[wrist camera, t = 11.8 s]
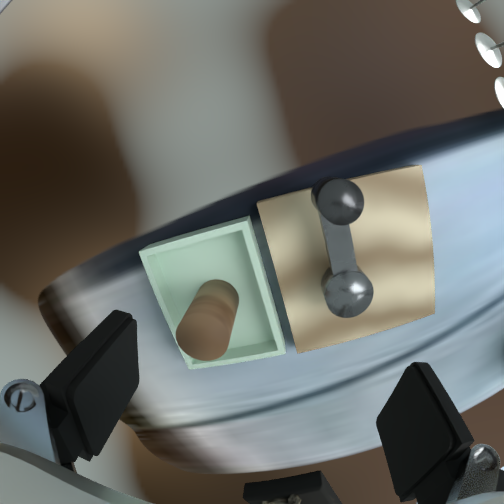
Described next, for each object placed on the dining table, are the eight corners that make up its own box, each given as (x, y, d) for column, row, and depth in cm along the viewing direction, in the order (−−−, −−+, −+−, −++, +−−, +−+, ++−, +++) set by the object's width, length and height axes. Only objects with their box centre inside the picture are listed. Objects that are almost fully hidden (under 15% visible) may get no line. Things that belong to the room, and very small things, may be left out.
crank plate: (428, 307, 27) (434, 313, 25) (296, 345, 29) (297, 353, 27) (413, 164, 23) (421, 165, 21) (257, 201, 25) (256, 203, 23)
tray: (285, 339, 29) (285, 353, 26) (194, 355, 30) (189, 369, 28) (249, 215, 25) (247, 220, 23) (149, 244, 27) (138, 251, 24)
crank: (366, 297, 25) (389, 333, 19) (325, 308, 25) (338, 348, 19) (343, 170, 22) (367, 172, 16) (295, 182, 22) (304, 187, 16)
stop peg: (244, 312, 27) (235, 356, 21) (205, 320, 28) (187, 363, 21) (231, 274, 26) (218, 311, 20) (191, 284, 27) (167, 321, 20)
